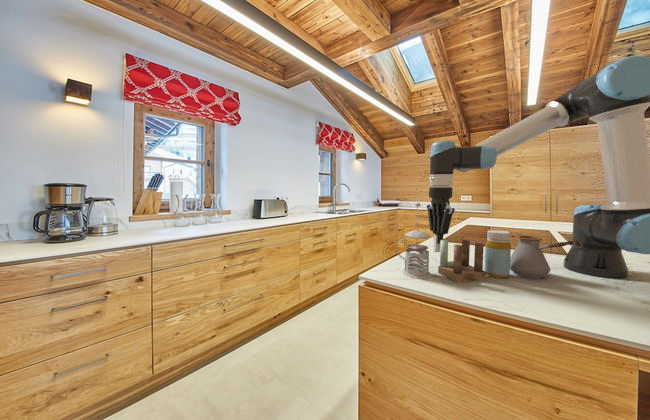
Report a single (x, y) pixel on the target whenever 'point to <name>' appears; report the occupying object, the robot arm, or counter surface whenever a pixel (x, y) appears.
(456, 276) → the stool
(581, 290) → the counter surface
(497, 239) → the bottle
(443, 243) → the swing leg
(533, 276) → the coffee pot
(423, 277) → the french press
